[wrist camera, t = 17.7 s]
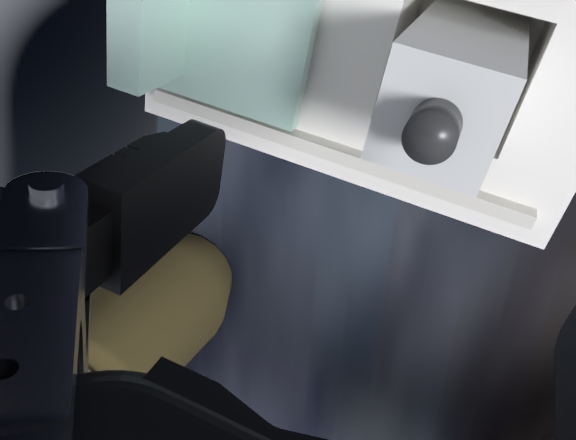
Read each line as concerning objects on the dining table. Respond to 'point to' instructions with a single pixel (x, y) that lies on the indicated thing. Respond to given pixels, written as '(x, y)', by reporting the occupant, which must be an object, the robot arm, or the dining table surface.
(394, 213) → the dining table surface
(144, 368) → the squeeze bottle
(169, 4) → the mint green l-shaped block
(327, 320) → the dining table surface
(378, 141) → the plug
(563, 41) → the socket
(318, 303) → the dining table surface
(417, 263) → the dining table surface
